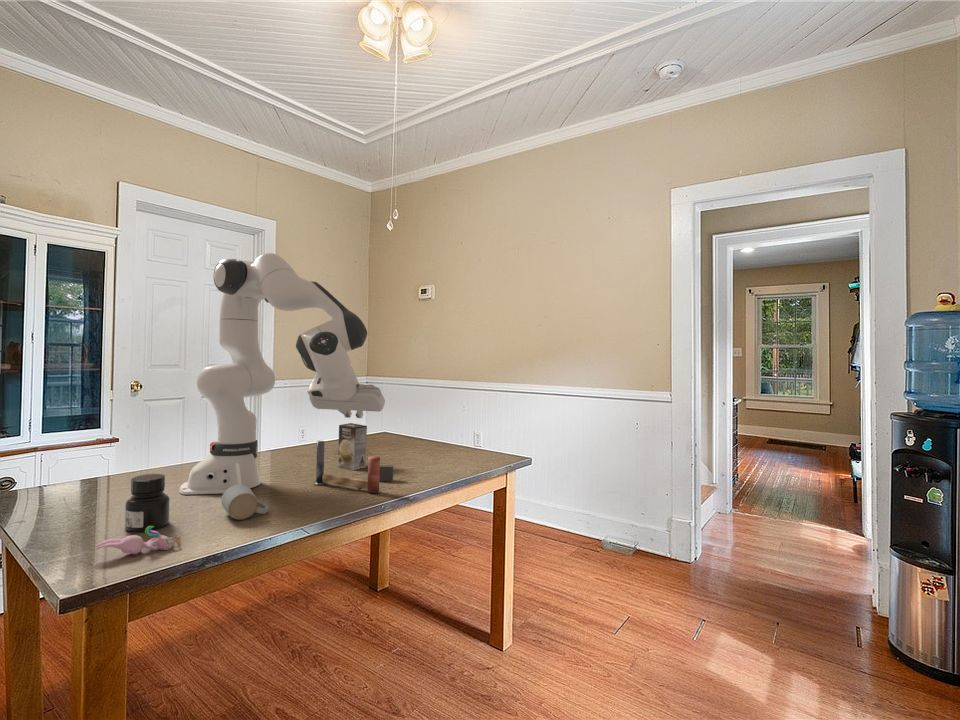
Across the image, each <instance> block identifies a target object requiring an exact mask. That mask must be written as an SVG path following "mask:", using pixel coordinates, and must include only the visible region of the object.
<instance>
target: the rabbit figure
mask: <svg viewBox="0 0 960 720" xmlns="http://www.w3.org/2000/svg"><path fill="white" fill-rule="evenodd" d="M153 527H155V526H148V527H147V528H146V529H145V531H144V533H145V536H148V537H153V538H150V539H149V540H147V541H144V539H143V538H142V537H141V536H140V535H136V534H133V535H127V536H125V537H124V538H108V539H105V540H102V541H101V542H100V543H97V544H96V545H94V550H99V549H102V548H112V549H113V548H115V549H118V550H120V551H121V552H122V553H123V554H131V555H132V554H133V555H135V554H137V553H138V554H139V553H141V552H142V550H143V549H144V548H146V549H149V550H157V549H158V550H162V551H169V550H171V549H172V548H173V546H174V544H175V543H177V545H178V547H179V548H180V547H181V541H182V539H181V536H180V535H179V536H176V535H173V536H171V537H168V536H167V535H163V534H160V533H159V532H158V531H157V530H151V529H152V528H153ZM178 547H177V548H178ZM138 554H137V555H138Z"/></svg>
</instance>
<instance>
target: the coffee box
mask: <svg viewBox="0 0 960 720" xmlns="http://www.w3.org/2000/svg"><path fill="white" fill-rule="evenodd" d="M367 430H368V426H367V425H364V424H359V423H353V422H350V423H343V424H339V425H338V453H337V454H338V455H337V467H339V468H342V469H346V470H350V469H351V471H358V470H361V469H366V467H367V466H366V465H367V464H366V463H367V438H368V437H367V435H368V434H367V433H368V431H367ZM360 468H361V469H360ZM357 469H358V470H357Z"/></svg>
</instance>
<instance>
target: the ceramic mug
mask: <svg viewBox="0 0 960 720" xmlns="http://www.w3.org/2000/svg"><path fill="white" fill-rule="evenodd" d="M221 496H222V497H221V505H222V508H223V509H224V510H225V512H226V513H227V514H228V515H229V517H230V518H232V519H234V520H236V521H237V520H238V521H244V520H247V519H249V518H251V517H252V516H253V515H254V514H255V513H256V514H260V515H265V514H267V513H268V511H269V506H268V505H266V504H264V503H263V502H260V501H258V499H257V496H256V494H254V492H253V491H252V488H249V487H247V486H246V485H242V484H237V485H234V486H231V487H230V488H228V489H227V490H226V491H225V492H224V493H222V495H221Z"/></svg>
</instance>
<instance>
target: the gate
mask: <svg viewBox="0 0 960 720" xmlns="http://www.w3.org/2000/svg"><path fill="white" fill-rule="evenodd" d="M367 460H368V461H367V479H366V480H365V479H361V478H359V479H358V478H352V477H346V476H340V475H333V474H327V473H324V475H323V479H322V482H324V483H326V484H332V485H338V486H343V487H350V488H355V489H357V490H358V491H361V490H367V493H370V494H371V493H373V494H375V493H378V492H380V482H379V479H380V465H381V457H380V456H368V458H367Z"/></svg>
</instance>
